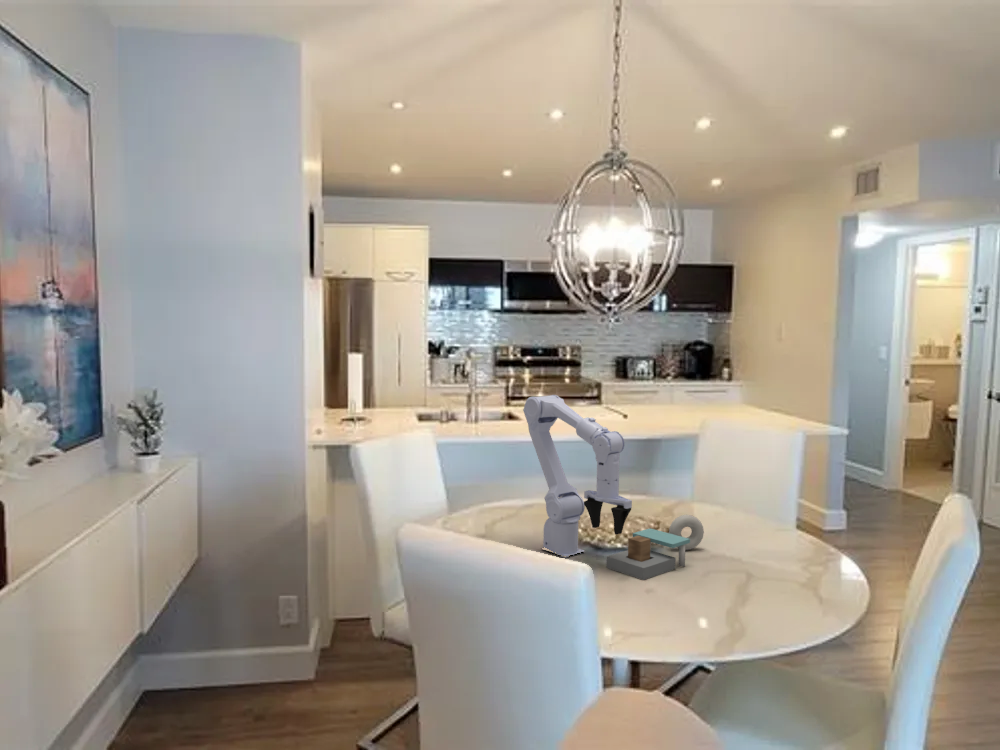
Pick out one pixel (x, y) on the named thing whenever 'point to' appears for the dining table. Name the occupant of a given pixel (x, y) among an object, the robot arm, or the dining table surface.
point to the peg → (639, 548)
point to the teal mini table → (666, 541)
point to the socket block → (641, 564)
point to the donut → (693, 524)
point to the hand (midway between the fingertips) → (606, 530)
